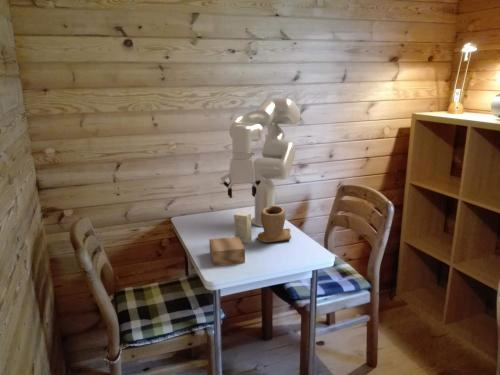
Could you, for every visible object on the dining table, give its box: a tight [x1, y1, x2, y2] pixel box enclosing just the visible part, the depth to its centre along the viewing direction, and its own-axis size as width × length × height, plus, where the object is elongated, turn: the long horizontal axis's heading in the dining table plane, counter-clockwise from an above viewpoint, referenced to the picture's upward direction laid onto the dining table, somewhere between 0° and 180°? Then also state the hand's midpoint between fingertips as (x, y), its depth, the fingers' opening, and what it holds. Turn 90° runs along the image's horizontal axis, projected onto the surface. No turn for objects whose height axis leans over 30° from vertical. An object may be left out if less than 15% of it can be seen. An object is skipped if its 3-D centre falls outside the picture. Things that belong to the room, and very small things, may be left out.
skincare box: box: [233, 211, 253, 244], centre depth 172 cm, size 6×4×12 cm
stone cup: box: [257, 205, 292, 243], centre depth 172 cm, size 15×12×15 cm
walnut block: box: [208, 236, 246, 267], centre depth 157 cm, size 12×12×6 cm
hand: (242, 196), depth 168 cm, fingers open, 9 cm apart
